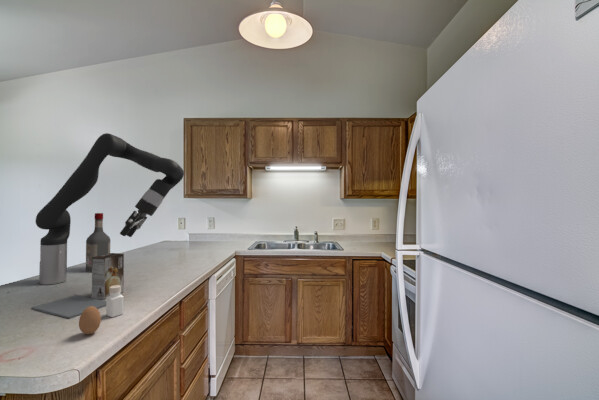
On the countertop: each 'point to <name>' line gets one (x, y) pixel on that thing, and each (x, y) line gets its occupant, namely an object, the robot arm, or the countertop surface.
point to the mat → (69, 306)
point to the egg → (89, 320)
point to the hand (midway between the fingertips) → (125, 235)
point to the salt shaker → (114, 302)
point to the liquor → (97, 242)
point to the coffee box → (107, 274)
